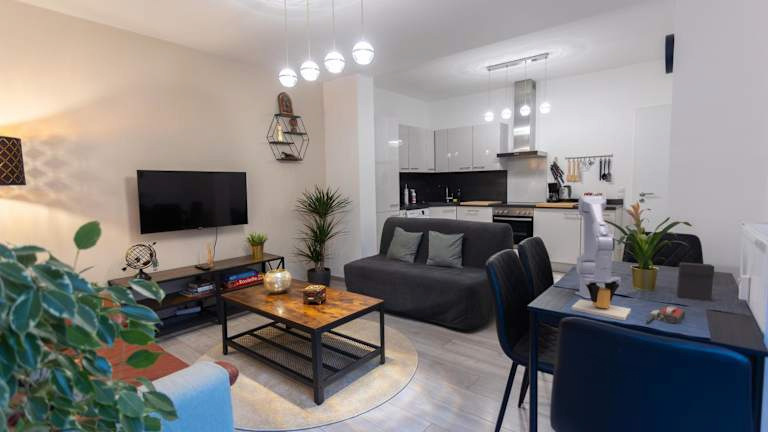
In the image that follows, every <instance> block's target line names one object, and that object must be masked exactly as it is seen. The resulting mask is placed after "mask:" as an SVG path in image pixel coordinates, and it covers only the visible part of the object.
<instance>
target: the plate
mask: <svg viewBox="0 0 768 432" xmlns="http://www.w3.org/2000/svg"><path fill="white" fill-rule="evenodd" d="M570 308H571V310H572V311H576V312H581V313H586V314H591V315H595V316H596V315H597V316H600V317H605V318H611V319H614V320H618V321H623V322H624V321H626V319H627V318H628V317H629V315H630V313H631V312H632V308H629V307H628V308H627V307H622V306H617V305H613V304H610V307H609V308H601V307H596V306H594V305H593V301H591V300H587V299H579V300H578V301H577V302H575V303H574V304H573V305H572V306H571V307H570Z"/></svg>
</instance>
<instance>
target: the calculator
mask: <svg viewBox="0 0 768 432" xmlns="http://www.w3.org/2000/svg"><path fill="white" fill-rule="evenodd" d="M678 265H679V266H678V277H677V291H676V292H677V293H676V294H677V295H676V296H677V297H678V298H679V299H685V298H689V299H688V300H695V299H700V300H699V301H705V300H711V301H712V295H713V282H714V276H715V266H714V265H712V264H711V263H710V264H707V263H695V262H679V264H678Z"/></svg>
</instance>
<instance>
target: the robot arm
mask: <svg viewBox="0 0 768 432" xmlns="http://www.w3.org/2000/svg"><path fill="white" fill-rule="evenodd" d="M577 203H578V209H577V210H578V211H577V212H578V215H580V216H582V219H583V253H581V254H580V255H578V256H577V258H576V265H575V266H576V267H575V269H576V273H577V274H578V275H579V291H575V292H574V294H575V295H578V296H580V297H583V299H590V301H592V302H595V303H596V302H597V296H598V291H599V288H600V287H604V288H608V289H610V292H611V294H610V303H611V302H612V300H613V297H614V295H615V293H616V292H617V290H618V289H619V287H620V284H621V283H622V277H620V276H612V265H613V252H614V251H615V249H616V240H615V236H614V235H613V234H611V231H610V229H609V228H610V227H609V225H608V223H607V222H606V221H605V220H604V219H605V218H604V211H605V210H606V208H607V198H606V196H605V195H604V194H603V195H582V194H581V195H580V196H579V197H578V202H577Z"/></svg>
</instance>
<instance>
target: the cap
mask: <svg viewBox="0 0 768 432" xmlns="http://www.w3.org/2000/svg"><path fill="white" fill-rule="evenodd" d="M610 294H611V292H610V289H608V288H604V287H600V288H599V291H598V296H597V302H596V303H595V302H593V301H592V302H593V305H594V306H596V307H601V308H609V307H610V305H611V302H610Z"/></svg>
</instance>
